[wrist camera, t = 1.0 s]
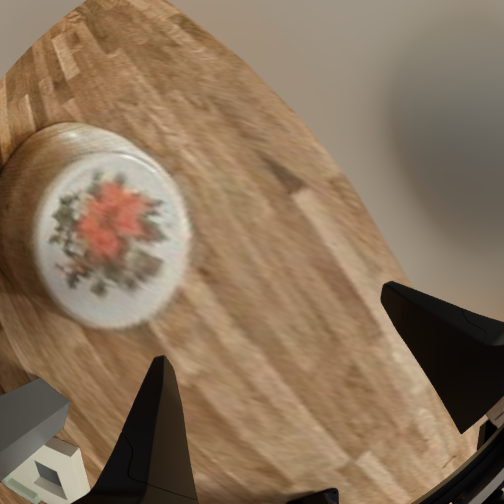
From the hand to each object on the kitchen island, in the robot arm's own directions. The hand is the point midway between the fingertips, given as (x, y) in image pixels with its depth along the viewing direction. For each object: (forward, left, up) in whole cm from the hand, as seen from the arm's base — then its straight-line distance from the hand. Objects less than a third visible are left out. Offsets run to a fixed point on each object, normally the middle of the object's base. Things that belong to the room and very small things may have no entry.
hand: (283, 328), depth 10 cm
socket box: (-19, +32, -14) cm, 40 cm away
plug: (-9, +24, -14) cm, 29 cm away
